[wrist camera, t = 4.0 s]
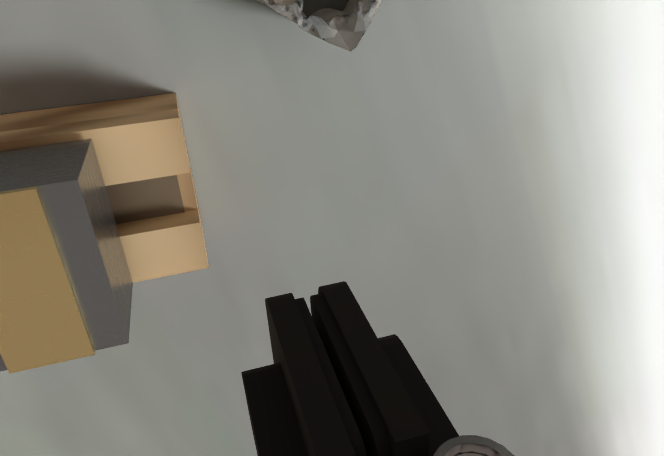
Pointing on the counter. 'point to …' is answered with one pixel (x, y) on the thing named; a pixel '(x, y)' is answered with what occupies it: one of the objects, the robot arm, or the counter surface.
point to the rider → (58, 258)
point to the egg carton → (331, 20)
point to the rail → (131, 174)
